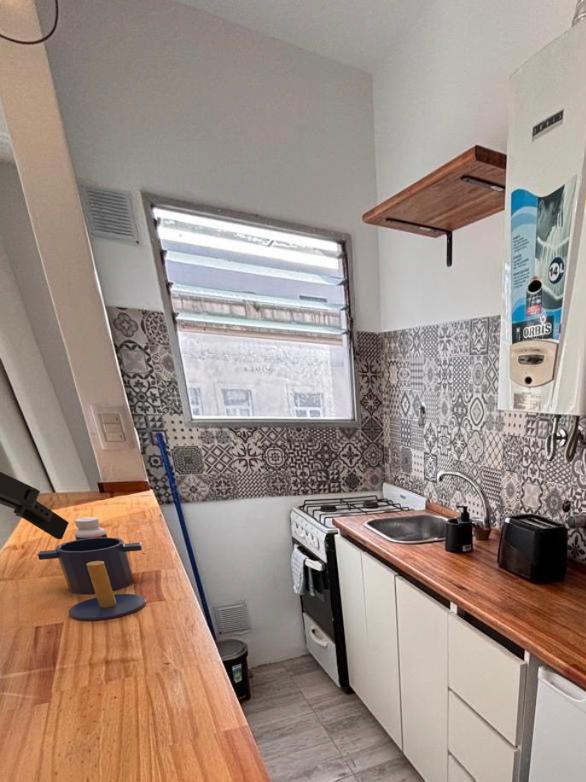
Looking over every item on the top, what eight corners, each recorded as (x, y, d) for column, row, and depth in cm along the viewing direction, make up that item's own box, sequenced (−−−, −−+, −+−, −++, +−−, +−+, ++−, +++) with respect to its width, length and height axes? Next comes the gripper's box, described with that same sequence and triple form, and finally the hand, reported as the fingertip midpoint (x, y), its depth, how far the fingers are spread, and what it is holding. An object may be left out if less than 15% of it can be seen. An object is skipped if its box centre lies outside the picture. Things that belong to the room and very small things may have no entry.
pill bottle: (100, 568, 109) (86, 522, 104) (78, 566, 109) (63, 521, 105) (120, 561, 113) (108, 517, 109) (98, 559, 114) (85, 515, 110)
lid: (75, 605, 91) (59, 557, 87) (147, 596, 96) (135, 550, 92) (65, 628, 82) (47, 577, 78) (146, 617, 87) (132, 568, 83)
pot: (57, 584, 99) (42, 541, 96) (151, 574, 106) (140, 534, 103) (48, 602, 91) (31, 556, 88) (150, 590, 98) (138, 546, 95)
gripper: (-298, 440, 52) (-72, 546, 72) (-82, 450, 50) (90, 557, 70) (-255, 382, 55) (-48, 500, 75) (-47, 389, 52) (109, 509, 72)
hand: (19, 528), depth 72 cm, fingers open, 13 cm apart
